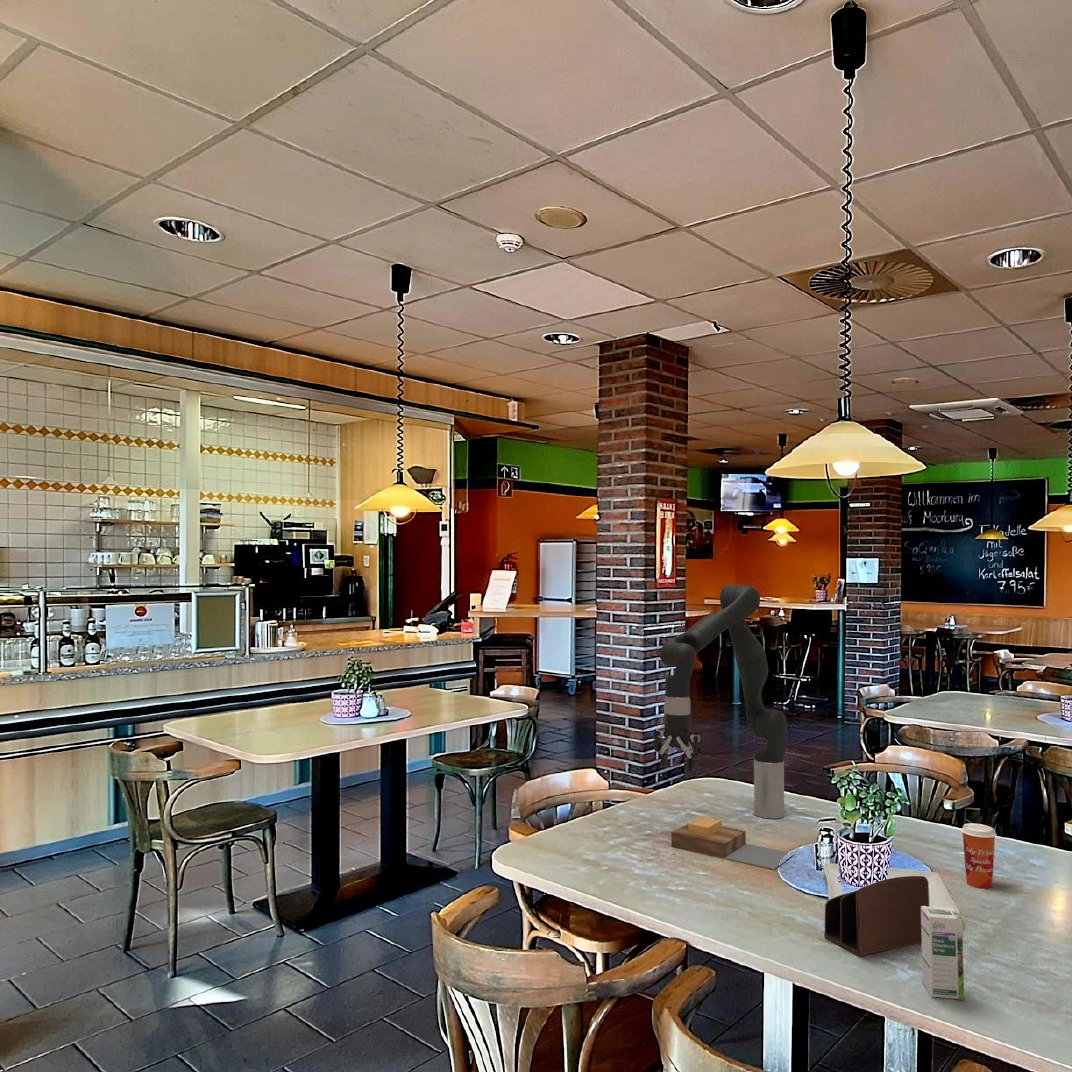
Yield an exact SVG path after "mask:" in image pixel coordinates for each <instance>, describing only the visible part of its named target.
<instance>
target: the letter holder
mask: <svg viewBox="0 0 1072 1072" xmlns="http://www.w3.org/2000/svg"><path fill="white" fill-rule="evenodd" d="M921 906H927V907H929V884H928V880H927V879H926V878H925V877H924V876H906V877H896V878H890V879H886V880H882V881H879V882H875V883H873V884H870V885H867V886H864V887H862V888H860V889H859V890H857V891H854V892H850V893H846V894H843V895H840V896H837V897H834V898H832V899H830V900H829V899H828V900H827V901H826V903H825V904H824V932H823V933H824V939H826V940H828V941H829V942H832V943H833V944H835V945H837V946H838V947H840V948H842V949H844V950H846V951H847V952H850V953H851V954H853V955H854V956H857V957H859V958H861V957H864V956H865V957H866V956H870V955H872V954H878V953H881V952H887V951H890V950H896V949H898V948H899V949H900V948H903V947H908V946H913V945H916V944H922V935H921Z"/></svg>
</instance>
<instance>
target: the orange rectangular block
mask: <svg viewBox="0 0 1072 1072" xmlns="http://www.w3.org/2000/svg"><path fill="white" fill-rule="evenodd" d="M690 822H691V823H690ZM690 822H689V824H688V823H687V824H688V833H692V834H696V835H701V836H706V837H709V836H711V835H713V834H714V833H716V832H718V831H720V830H721V829H722V826H723V820H722V819H718V818H714V817H713V818H712V817H708V816H707V817H706V816H701V817H699V818H697V819H695V820H693V822H692V821H690Z"/></svg>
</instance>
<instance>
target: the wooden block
mask: <svg viewBox="0 0 1072 1072" xmlns="http://www.w3.org/2000/svg"><path fill="white" fill-rule="evenodd" d="M693 821H694V820H693ZM693 821H690V822H689V823H691V822H693ZM689 823H687V824H685V825H683V826H680V827H679V828H676V829H675V830H673V831H672V832H670V833H671V836H670V837H671V842H670V843H671V844H670V845H671V848H674V849H675V848H676V849H680V850H684V851H689V852H693V853H698V854H702V855H707V856H712V857H716V858H721V859H724V858H725V857H726V856H728V855H730V854H731V853H733V852H734V851H736V850H737V849H739V848H740V847H742V846H744V845H745V844H747V843H746V841H747V838H746V837H747V835H746V834H747V833H746V830H743V829H737V828H732V827H728V826H723V825H722V829H721V830H720V831H718V832H716V833H714V834H713V835H711V836H709V837H706V836H701V835H696V834H692V833H688V824H689Z"/></svg>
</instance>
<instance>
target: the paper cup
mask: <svg viewBox="0 0 1072 1072" xmlns="http://www.w3.org/2000/svg"><path fill="white" fill-rule="evenodd" d="M961 833H962V840H963V841H962V842H963V852H964V854H963V855H964V866H965V878H966V885H968V886H970V887H972V888H976V889H983V890H986V889H987V890H988V889H991V888H992V887H993V882H994V881H993V879H994V877H993V875H994V857H995V839H996V838H995V837H997V835H998V834H997V833H996V830H995V829H994V828H993V827H992V826H988V825H986V824H981V823H975V822H974V823H972V822H971V823H965V824H963V825H962V828H961Z"/></svg>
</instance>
